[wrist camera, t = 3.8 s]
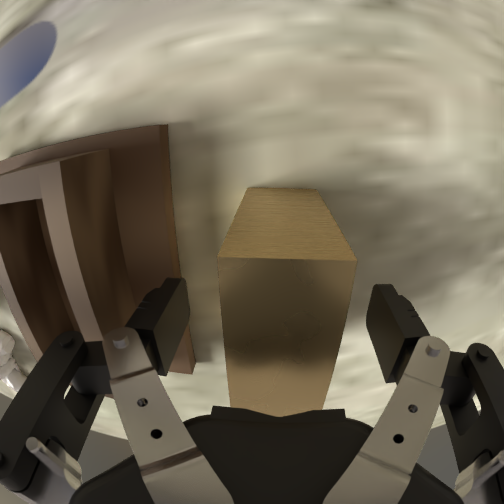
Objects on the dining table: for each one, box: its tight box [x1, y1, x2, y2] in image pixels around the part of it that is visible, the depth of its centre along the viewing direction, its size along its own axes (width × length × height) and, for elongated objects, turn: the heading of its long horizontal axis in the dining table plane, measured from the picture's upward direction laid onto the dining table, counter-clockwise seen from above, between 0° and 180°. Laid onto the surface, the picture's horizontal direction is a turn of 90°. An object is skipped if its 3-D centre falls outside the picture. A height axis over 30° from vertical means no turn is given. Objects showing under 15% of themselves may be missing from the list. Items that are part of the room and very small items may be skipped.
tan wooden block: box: [217, 188, 357, 417], centre depth 11 cm, size 8×3×7 cm, turn 0°
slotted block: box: [0, 125, 196, 399], centre depth 13 cm, size 14×12×4 cm
